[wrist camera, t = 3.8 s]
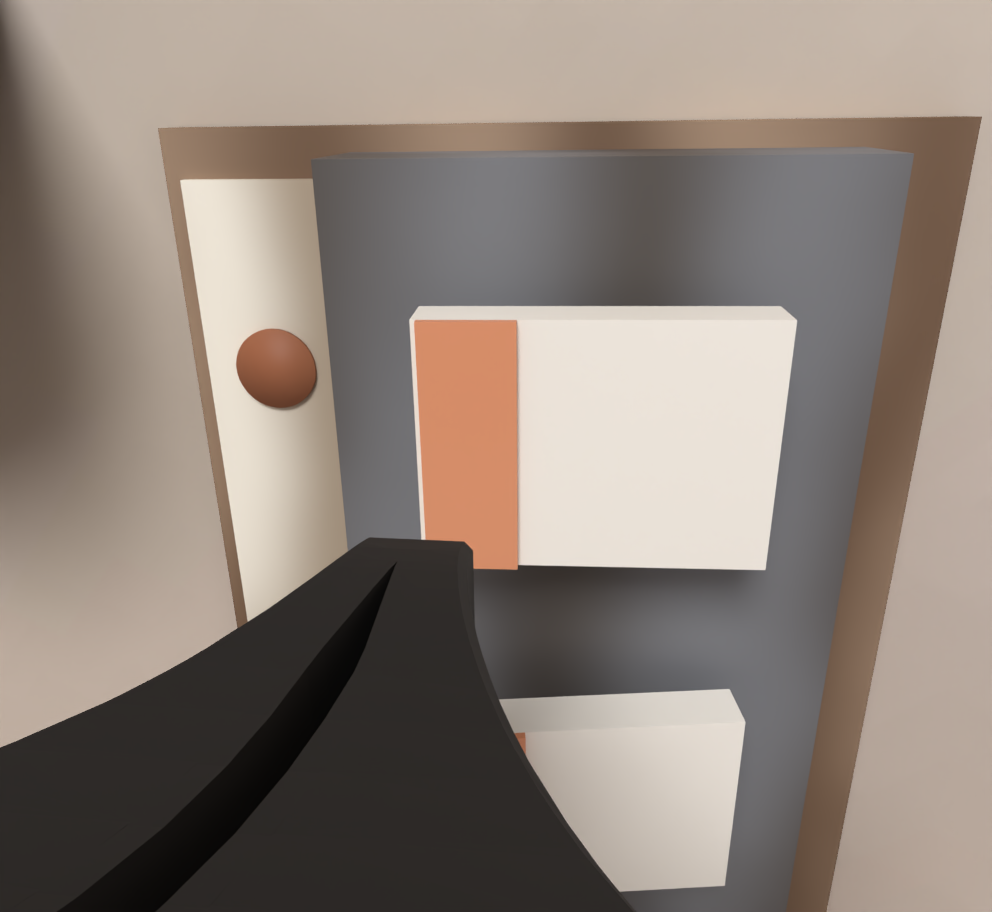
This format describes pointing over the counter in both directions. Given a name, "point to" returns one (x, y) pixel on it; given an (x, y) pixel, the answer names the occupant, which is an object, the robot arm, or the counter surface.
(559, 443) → the block
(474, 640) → the robot arm
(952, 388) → the counter surface
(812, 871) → the switch unit
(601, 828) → the block
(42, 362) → the counter surface
